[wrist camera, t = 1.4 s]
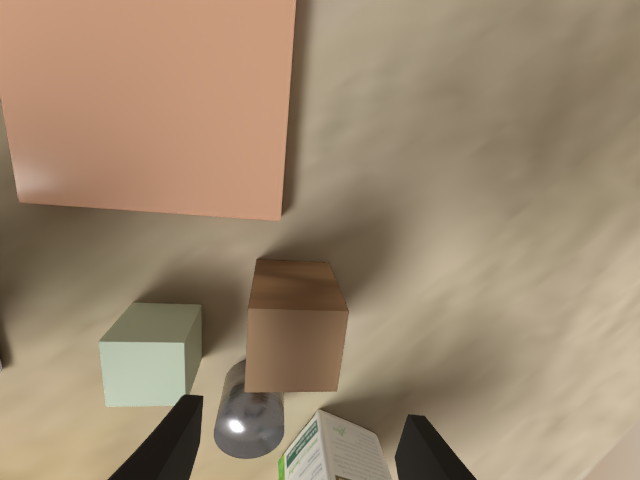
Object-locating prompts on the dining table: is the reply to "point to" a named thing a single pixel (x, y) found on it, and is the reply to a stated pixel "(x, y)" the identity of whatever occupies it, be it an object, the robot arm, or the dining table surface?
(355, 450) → the syrup box
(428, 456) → the robot arm
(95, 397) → the dining table surface
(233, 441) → the grey metal cylinder
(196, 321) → the sage painted cube
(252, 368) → the walnut block
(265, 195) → the terracotta tile
